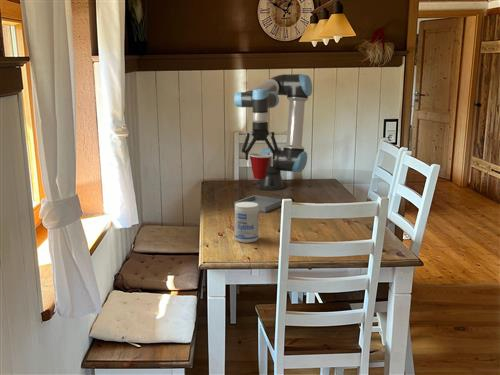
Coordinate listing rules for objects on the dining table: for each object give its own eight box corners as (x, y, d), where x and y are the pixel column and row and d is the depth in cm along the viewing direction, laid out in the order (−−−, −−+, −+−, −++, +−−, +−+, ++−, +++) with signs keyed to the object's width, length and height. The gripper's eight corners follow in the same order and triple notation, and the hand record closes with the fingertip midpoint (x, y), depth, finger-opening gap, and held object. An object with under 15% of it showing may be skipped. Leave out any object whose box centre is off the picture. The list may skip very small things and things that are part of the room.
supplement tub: (236, 244, 212) (236, 207, 208) (232, 236, 221) (232, 202, 218) (260, 242, 213) (260, 206, 210) (256, 235, 223) (255, 200, 219)
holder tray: (253, 200, 281) (253, 195, 281) (283, 205, 272) (283, 199, 271) (234, 208, 267) (234, 202, 266) (265, 213, 257) (265, 206, 256)
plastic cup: (269, 180, 260) (269, 156, 258) (247, 179, 262) (247, 155, 260) (272, 176, 270) (272, 152, 268) (251, 175, 273) (251, 152, 270)
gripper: (281, 120, 267) (280, 164, 271) (235, 121, 262) (235, 165, 266) (285, 121, 259) (284, 166, 264) (238, 122, 255) (238, 168, 259)
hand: (260, 166), depth 265 cm, fingers closed on plastic cup, 11 cm apart
